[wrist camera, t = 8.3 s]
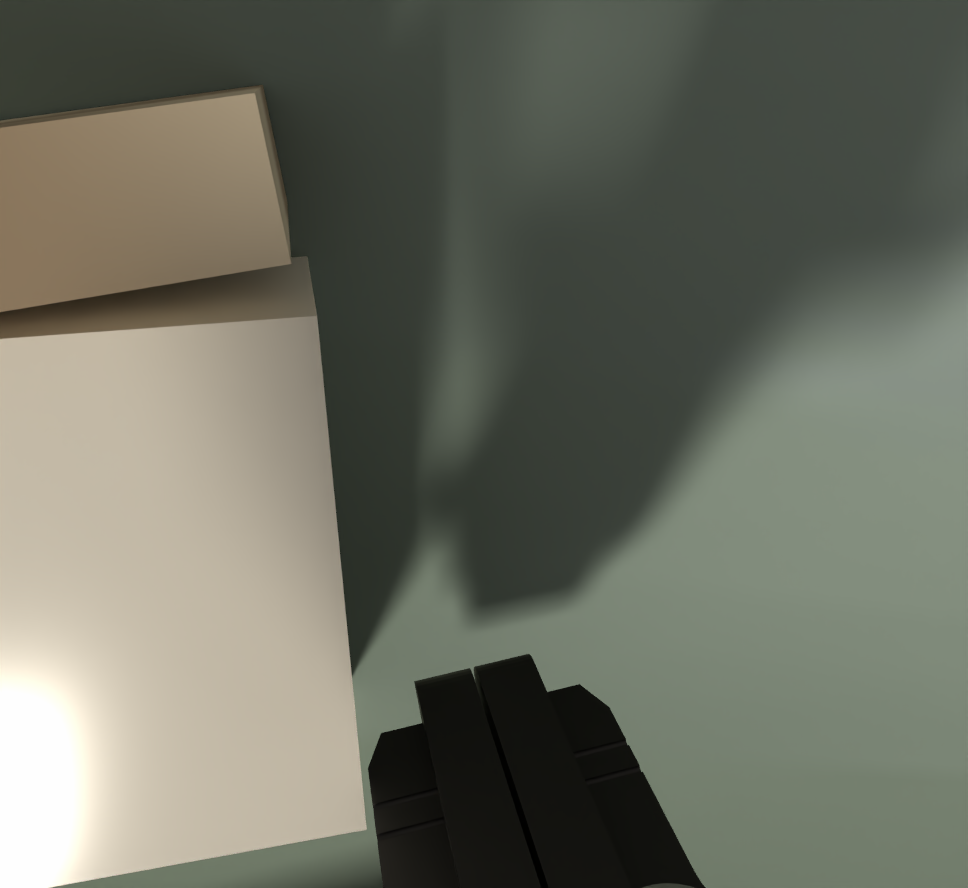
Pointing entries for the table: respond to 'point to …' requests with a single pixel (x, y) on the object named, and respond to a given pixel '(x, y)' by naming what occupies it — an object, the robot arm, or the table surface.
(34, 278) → the box
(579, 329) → the table surface
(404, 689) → the table surface
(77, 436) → the cream tile
